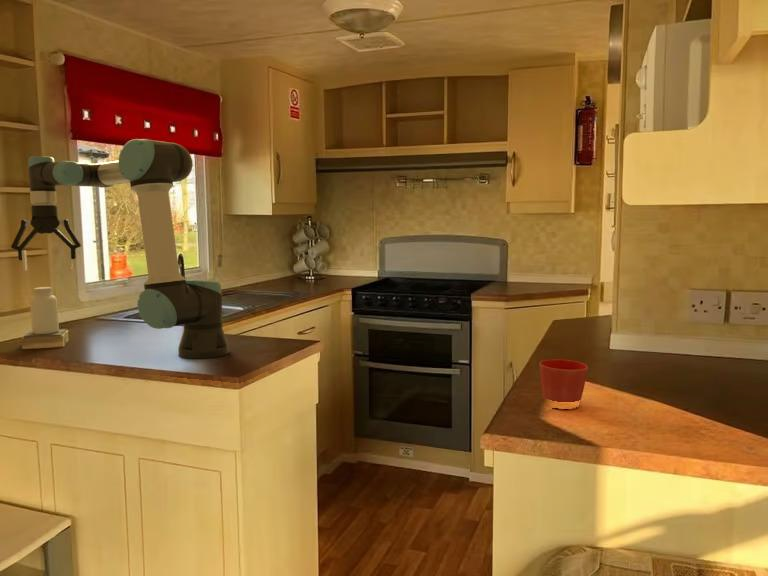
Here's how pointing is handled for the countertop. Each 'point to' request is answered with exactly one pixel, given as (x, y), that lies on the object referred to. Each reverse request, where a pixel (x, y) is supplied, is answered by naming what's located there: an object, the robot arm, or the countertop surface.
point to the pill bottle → (44, 311)
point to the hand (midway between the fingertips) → (48, 270)
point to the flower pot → (563, 380)
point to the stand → (45, 339)
